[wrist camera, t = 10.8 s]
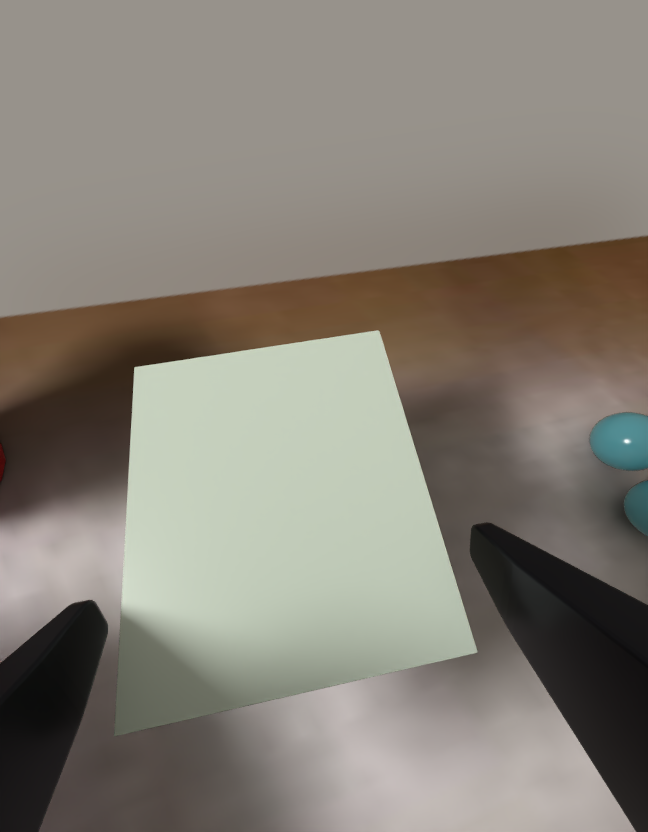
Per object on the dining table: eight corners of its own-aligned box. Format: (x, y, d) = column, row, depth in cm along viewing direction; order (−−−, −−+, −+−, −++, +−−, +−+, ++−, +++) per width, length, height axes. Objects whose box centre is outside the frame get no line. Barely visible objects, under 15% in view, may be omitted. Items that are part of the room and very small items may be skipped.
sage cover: (391, 594, 15) (477, 652, 7) (234, 628, 14) (114, 736, 6) (353, 430, 18) (379, 330, 10) (223, 452, 18) (134, 367, 9)
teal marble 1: (642, 452, 18) (701, 434, 15) (614, 487, 17) (671, 476, 14) (593, 414, 19) (640, 391, 16) (565, 447, 18) (609, 428, 15)
